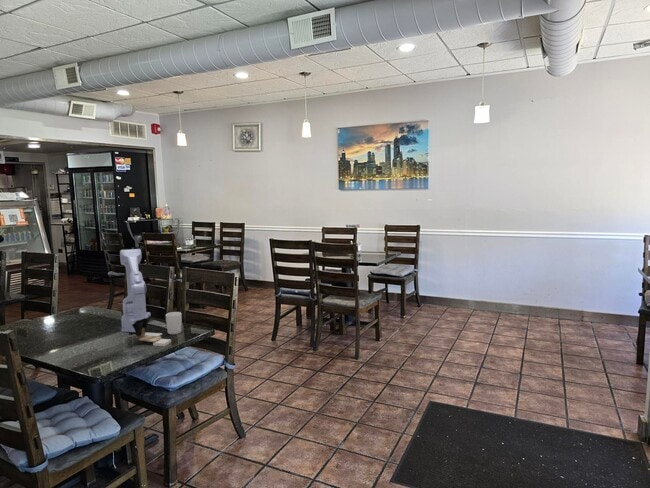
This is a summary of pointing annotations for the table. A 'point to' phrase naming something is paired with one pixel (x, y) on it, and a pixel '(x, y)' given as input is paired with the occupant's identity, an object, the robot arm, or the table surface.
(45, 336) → the table surface
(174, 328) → the white cup
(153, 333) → the felt mat
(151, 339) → the turner
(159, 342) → the tile
